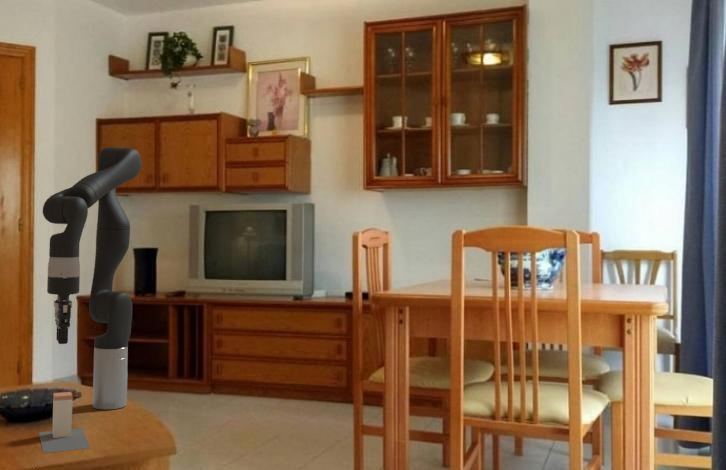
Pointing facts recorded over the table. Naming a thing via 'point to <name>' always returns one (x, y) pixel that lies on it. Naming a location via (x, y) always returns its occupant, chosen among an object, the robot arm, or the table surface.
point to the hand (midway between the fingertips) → (62, 341)
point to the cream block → (62, 414)
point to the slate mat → (63, 441)
